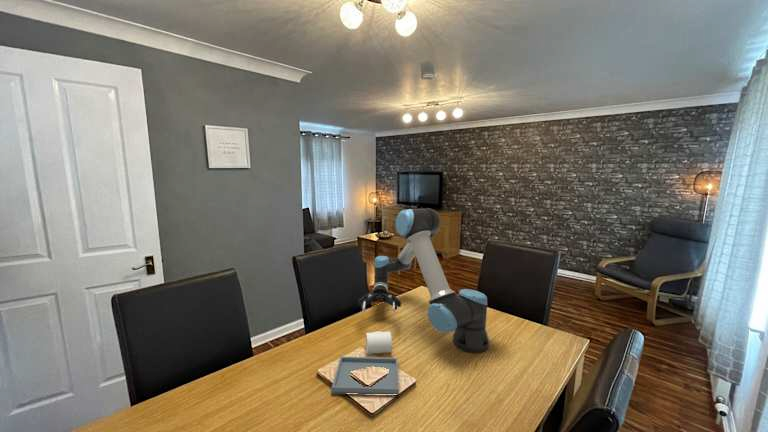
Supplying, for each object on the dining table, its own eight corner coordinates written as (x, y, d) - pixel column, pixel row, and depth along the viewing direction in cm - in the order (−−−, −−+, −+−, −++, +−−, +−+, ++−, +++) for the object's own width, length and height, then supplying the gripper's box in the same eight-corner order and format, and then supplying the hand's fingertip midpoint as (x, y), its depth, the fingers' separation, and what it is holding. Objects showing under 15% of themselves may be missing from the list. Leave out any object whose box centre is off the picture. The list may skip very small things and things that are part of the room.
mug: (392, 356, 120) (392, 337, 119) (367, 358, 119) (367, 339, 118) (387, 340, 132) (387, 323, 131) (364, 341, 131) (364, 324, 130)
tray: (397, 364, 115) (397, 358, 115) (398, 396, 99) (398, 389, 98) (340, 362, 116) (340, 356, 116) (331, 394, 99) (331, 387, 99)
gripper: (404, 299, 155) (406, 319, 134) (356, 298, 156) (350, 317, 135) (404, 285, 154) (406, 303, 133) (356, 284, 155) (350, 302, 134)
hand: (378, 311), depth 134 cm, fingers open, 13 cm apart
